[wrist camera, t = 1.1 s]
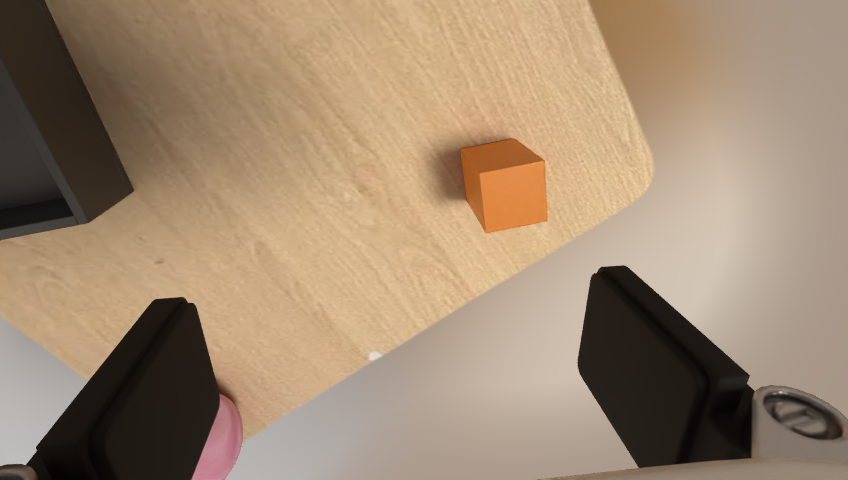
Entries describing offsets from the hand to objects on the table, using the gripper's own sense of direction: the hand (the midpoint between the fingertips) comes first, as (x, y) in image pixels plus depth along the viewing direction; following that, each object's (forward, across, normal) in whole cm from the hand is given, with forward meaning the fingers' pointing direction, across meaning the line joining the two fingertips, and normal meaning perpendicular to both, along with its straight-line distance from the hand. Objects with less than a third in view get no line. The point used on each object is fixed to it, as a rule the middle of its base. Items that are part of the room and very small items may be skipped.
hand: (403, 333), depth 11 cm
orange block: (+22, -8, +3) cm, 24 cm away
